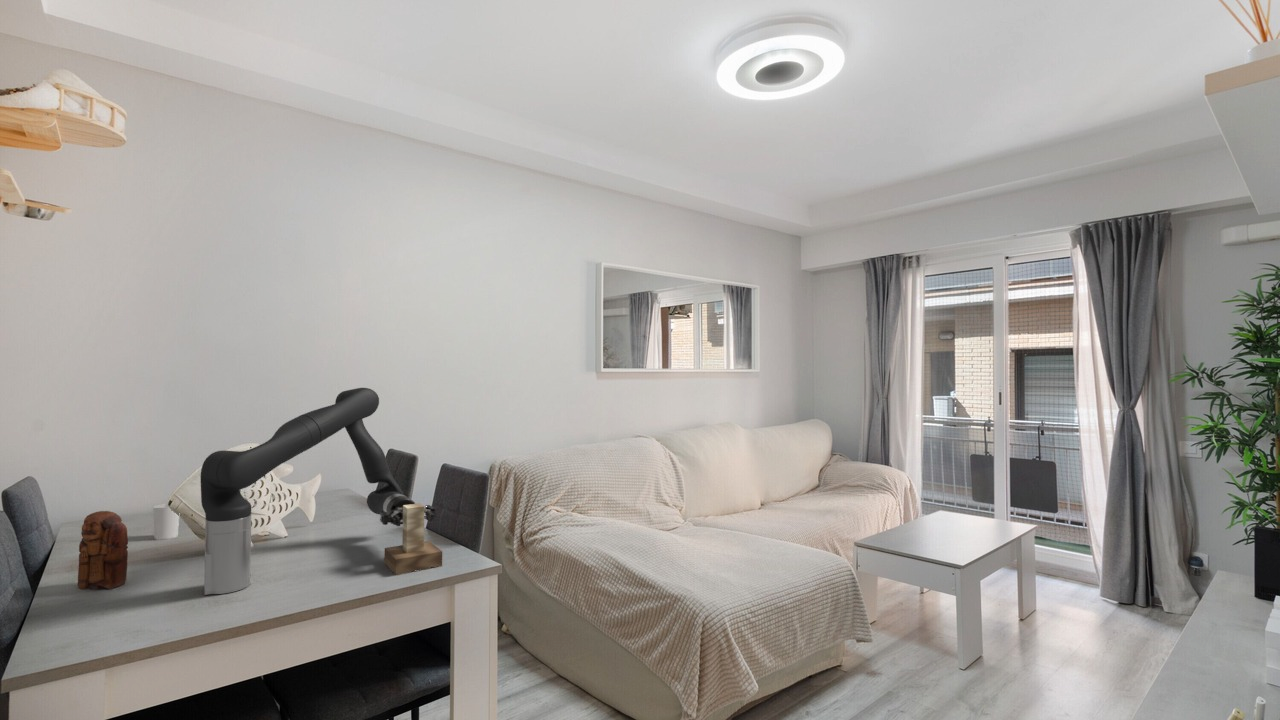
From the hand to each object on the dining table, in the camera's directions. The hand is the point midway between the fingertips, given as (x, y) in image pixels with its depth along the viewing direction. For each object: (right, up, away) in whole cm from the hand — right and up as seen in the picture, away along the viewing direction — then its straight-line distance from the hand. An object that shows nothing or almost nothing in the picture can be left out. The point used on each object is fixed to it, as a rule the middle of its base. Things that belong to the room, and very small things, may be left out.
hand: (415, 520), depth 161 cm
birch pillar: (-1, -9, +1) cm, 9 cm away
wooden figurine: (-72, -12, -15) cm, 74 cm away
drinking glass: (-88, -13, +26) cm, 93 cm away
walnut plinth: (-1, -13, +1) cm, 13 cm away
